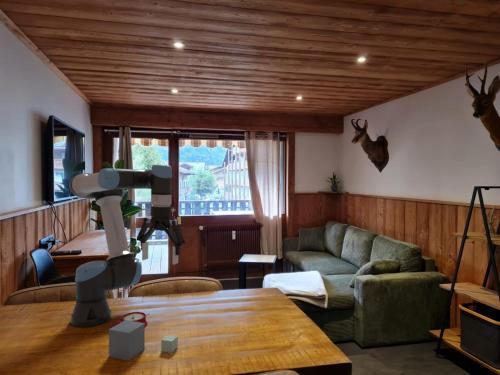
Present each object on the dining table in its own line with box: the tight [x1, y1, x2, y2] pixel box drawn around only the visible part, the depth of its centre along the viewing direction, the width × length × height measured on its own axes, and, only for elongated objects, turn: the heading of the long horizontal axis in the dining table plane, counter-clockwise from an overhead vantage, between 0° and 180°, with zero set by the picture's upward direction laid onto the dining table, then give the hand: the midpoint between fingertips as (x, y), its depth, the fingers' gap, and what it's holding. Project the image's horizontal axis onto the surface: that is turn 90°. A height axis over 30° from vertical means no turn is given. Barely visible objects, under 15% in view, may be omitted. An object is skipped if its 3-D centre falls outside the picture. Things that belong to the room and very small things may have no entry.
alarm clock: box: [114, 311, 150, 328], centre depth 133 cm, size 10×6×15 cm
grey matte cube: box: [108, 320, 146, 362], centre depth 113 cm, size 8×8×9 cm
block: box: [160, 334, 179, 354], centre depth 116 cm, size 4×4×4 cm
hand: (159, 261), depth 128 cm, fingers open, 13 cm apart
